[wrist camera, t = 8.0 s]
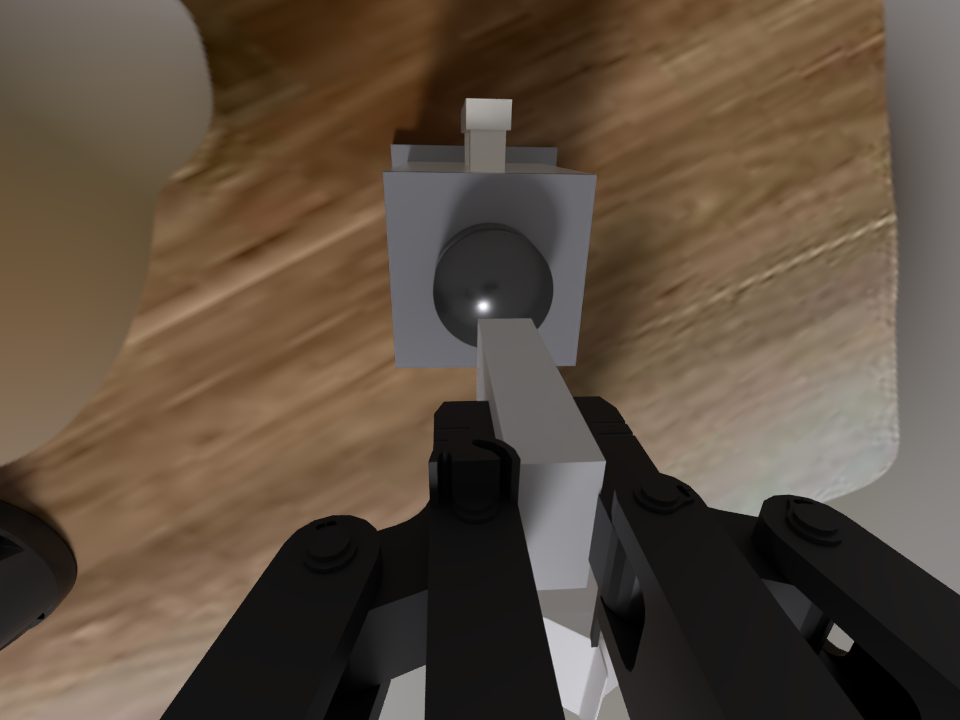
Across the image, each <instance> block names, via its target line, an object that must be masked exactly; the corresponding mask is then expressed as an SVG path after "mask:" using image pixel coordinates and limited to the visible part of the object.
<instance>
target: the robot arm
mask: <svg viewBox="0 0 960 720" xmlns="http://www.w3.org/2000/svg"><path fill="white" fill-rule="evenodd" d="M429 490H430V500H429V502H428V503H427V505H426V507H425V508H424V509H423V510H422V511H421V512H420V513H419V514H417V515H416V516H414V517H413V518H411V519H409V520H408V521H406V522H403V523H401V524H398V525H396V526H392V527H389V528H386V529H382V530H379V531H377V530H376V528H374V527H373V526H372V525H371V524H370V523H369V522H368V521H366V520H364V519H361V518H358V517H355V516H351V515H332V516H329V517H325V518H322V519H318V520H314V521H312V522H311V523H309V524H307V525H305V526H304V527H302V528H300V529H298V530H297V531H296V532H295V533H294V534H293V535H292V536H291V537H290V538H289V539H288V540H287V541H286V542H285V543H284V544H283V546H282V547H281V549H280V550H279V551H278V553H277V554H276V556H275V557H274V558H273V560H272V561H271V563H270V564H269V566H268V567H267V568H266V570H265V571H264V573H263V574H262V575H261V577H260V578H259V580H258V581H257V582H256V584H255V585H254V587H253V588H252V590H251V591H250V592H249V594H248V595H247V597H246V598H245V599H244V601H243V602H242V604H241V605H240V607H239V608H238V609H237V611H236V612H235V614H234V615H233V616H232V618H231V619H230V621H229V622H228V623H227V625H226V626H225V628H224V629H223V631H222V632H221V633H220V635H219V636H218V638H217V639H216V640H215V642H214V643H213V645H212V646H211V647H210V649H209V650H208V652H207V653H206V655H205V656H204V657H203V659H202V660H201V662H200V663H199V664H198V666H197V667H196V669H195V670H194V671H193V673H192V674H191V676H190V677H189V679H188V680H187V681H186V683H185V684H184V686H183V687H182V688H181V690H180V691H179V693H178V694H177V695H176V697H175V698H174V700H173V701H172V703H171V704H170V705H169V707H168V708H167V710H166V711H165V712H164V714H163V715H162V717H161V718H160V720H378V719H379V716H380V713H381V710H382V707H383V704H384V700H385V698H386V694H387V692H388V688H389V685H390V682H391V679H393V678H395V677H398V676H400V675H403V674H405V673H407V672H410V671H412V670H414V669H416V668H419V667H421V666H424V665H426V687H425V689H426V691H425V720H565V716H564V712H563V707H562V703H561V698H560V694H559V689H558V684H557V680H556V675H555V671H554V666H553V662H552V657H551V653H550V648H549V643H548V639H547V634H546V630H545V625H544V621H543V616H542V612H541V607H540V602H539V598H538V593H537V590H556V589H574V588H586V587H587V581H588V574H589V568H590V566H591V569H592V572H593V575H594V577H595V580H596V583H597V586H598V590H597V596H596V602H595V608H594V614H593V620H592V626H591V632H590V639H591V648H592V647H598V643H599V637H600V632H602V635H603V638H604V641H605V644H606V647H607V650H608V653H609V656H610V659H611V662H612V665H613V668H614V671H615V675H616V678H617V681H618V684H619V686H620V690H621V693H622V696H623V699H624V702H625V705H626V708H627V711H628V714H629V717H630V720H960V595H959V594H957V593H956V592H954V591H953V590H952V589H950V588H948V587H947V586H946V585H944V584H943V583H942V582H940V581H939V580H937V579H936V578H934V577H933V576H931V575H930V574H929V573H927V572H926V571H924V570H923V569H922V568H920V567H919V566H917V565H916V564H914V563H913V562H911V561H910V560H909V559H907V558H906V557H904V556H903V555H901V554H900V553H898V552H897V551H896V550H894V549H893V548H891V547H890V546H889V545H887V544H885V543H884V542H883V541H881V540H880V539H879V538H877V537H876V536H874V535H873V534H871V533H870V532H868V531H867V530H866V529H864V528H863V527H861V526H860V525H858V524H857V523H856V522H854V521H853V520H851V519H850V518H848V517H847V516H845V515H844V514H842V513H840V512H838V511H837V510H835V509H833V508H831V507H830V506H828V505H825V504H823V503H820V502H817V501H815V500H812V499H809V498H805V497H800V496H794V495H776V496H772V497H770V498H768V499H767V500H765V501H764V502H763V505H762V508H761V510H760V513H759V516H758V517H754V516H749V515H744V514H738V513H733V512H728V511H722V510H717V509H714V508H710V507H707V505H706V504H705V502H704V501H703V500H702V498H701V497H700V496H699V495H698V494H697V493H696V492H695V491H694V490H693V489H692V488H691V487H690V486H689V485H687V484H685V483H683V482H682V481H680V480H678V479H676V478H675V477H672V476H668V475H665V474H662V473H659V471H658V470H657V468H656V467H655V465H654V464H653V462H652V461H651V459H650V458H649V456H648V455H647V453H646V452H645V450H644V449H643V447H642V446H641V444H640V443H639V441H638V440H637V438H636V437H635V436H633V432H632V431H631V429H630V428H629V426H628V425H627V424H625V420H624V419H623V417H622V416H621V414H620V413H619V411H618V410H617V408H616V407H614V406H613V405H611V404H610V403H608V402H607V401H605V400H604V399H602V398H601V397H600V396H597V397H572V395H571V394H570V392H569V390H568V388H567V386H566V384H565V382H564V380H563V378H562V376H561V374H560V373H559V371H558V369H557V367H556V365H555V363H554V361H553V359H552V357H551V355H550V353H549V352H548V350H547V348H546V346H545V344H544V342H543V340H542V338H541V336H540V334H539V332H538V331H537V329H536V327H535V325H534V323H533V321H532V319H531V318H514V319H478V336H477V401H451V402H443V403H442V405H441V406H440V407H439V409H438V410H437V411H436V412H435V414H434V443H433V451H432V454H431V457H430V459H429ZM75 579H76V566H75V562H74V559H73V557H72V554H71V552H70V551H69V549H68V547H67V546H66V544H65V543H64V542H63V541H62V539H61V538H60V537H59V536H58V535H57V534H56V533H55V532H54V531H53V530H52V529H50V528H49V527H48V526H47V525H45V524H44V523H43V522H41V521H40V520H38V519H37V518H35V517H34V516H32V515H30V514H28V513H26V512H24V511H23V510H20V509H18V508H16V507H14V506H11V505H9V504H6V503H3V502H0V651H1V650H2V649H4V648H5V647H7V646H8V645H9V644H11V643H12V642H13V641H15V640H16V639H17V638H19V637H20V636H21V635H23V634H24V633H25V632H26V631H27V630H29V629H31V628H33V627H34V626H36V625H38V624H39V623H40V622H42V621H43V620H45V619H46V618H47V617H48V616H49V615H50V614H51V613H52V612H53V611H54V610H55V609H56V608H57V607H58V606H59V604H60V603H61V602H62V601H63V600H64V598H65V597H66V596H67V595H68V594H69V592H70V591H71V589H72V588H73V585H74V583H75ZM834 623H835V624H836V625H837V626H838V627H840V628H841V629H842V630H843V631H844V632H845V633H846V634H848V636H849V637H850V638H852V639H853V640H854V643H853V645H852V647H851V649H850V651H849V652H846V651H844V650H841V649H839V648H837V647H836V646H835V645H833V644H832V643H831V642H830V641H829V640H828V639H827V637H828V635H829V633H830V631H831V629H832V627H833V625H834Z"/></svg>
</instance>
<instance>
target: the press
mask: <svg viewBox="0 0 960 720" xmlns="http://www.w3.org/2000/svg"><path fill="white" fill-rule="evenodd" d="M511 114H512V99H473V98H466V100H465V102H464V105H463V107H462V110H461V133H464V146H448V145H391V156H392V168H391V169H389V170H386V171H384V172H383V178H384V193H385V209H386V224H387V240H388V255H389V270H390V286H391V301H392V316H393V332H394V347H395V363H396V368H446V367H477V347H473V346H470V345H468V344H466V343H463V342H462V341H460V340H458V339H457V338H456V337H454V336H453V335H452V334H451V333H450V332H449V331H448V330H447V329H446V328H445V326H444V325H443V324H442V322H441V320H440V319H439V317H438V315H437V312H436V309H435V305H434V300H433V283H434V273H435V267H436V263H437V260H438V257H439V255H440V253H441V251H442V249H443V248H444V246H445V245H446V243H447V242H448V241H449V240H450V239H451V238H452V237H453V236H454V235H455V234H457V233H458V232H460V231H461V230H463V229H465V228H467V227H470V226H473V225H475V224H480V223H500V224H504V225H507V226H510V227H513V228H514V229H516V230H518V231H520V232H521V233H522V234H524V235H525V236H526V237H527V238H528V239H529V240H530V241H531V242H532V243H533V245H534V246H535V247H536V248H537V249H538V250H539V252H540V253H541V254H542V255H543V257H544V258H545V260H546V262H547V263H548V266H549V268H550V270H551V274H552V278H553V286H554V289H553V300H552V304H551V307H550V310H549V312H548V315H547V316H546V318H545V320H544V322H543V323H542V324H541V326H540V327H539V328H538V329H537V331H538V332H539V334H540V336H541V338H542V340H543V342H544V344H545V346H546V348H547V350H548V352H549V353H550V355H551V357H552V359H553V361H554V363H555V365H556V366H575V365H576V356H577V348H578V339H579V330H580V321H581V312H582V303H583V294H584V285H585V276H586V267H587V259H588V250H589V241H590V232H591V223H592V214H593V205H594V196H595V187H596V178H597V175H595V174H590V173H585V172H580V171H576V170H571V169H566V168H561V167H556V164H557V151H558V147H506V131H509V130H511Z"/></svg>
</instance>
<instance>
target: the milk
mask: <svg viewBox="0 0 960 720" xmlns="http://www.w3.org/2000/svg"><path fill="white" fill-rule="evenodd" d="M597 590H598V586H597V583H596V580H595V577H594V575H593V572H592V569H591V566H590V568H589V574H588V581H587V587H586V588H574V589H556V590H537V593H538V598H539V602H540V607H541V612H542V616H543V621H544V625H545V630H546V634H547V639H548V643H549V648H550V653H551V657H552V662H553V666H554V671H555V675H556V680H557V684H558V689H559V694H560V698H561V703H562V707H564V708H566V709H568V710H570V711H572V712H573V713H576V714H577V715H578V716H579V718H580V720H597V717H598V713H599V709H600V706H601V703H602V699H603V697H604V696H605V695H606V694H608V693H609V692H610V691H611V690H612V689H614V688H615V687H616V686H617V685H618V681H617V678H616V675H615V671H614V668H613V665H612V662H611V659H610V656H609V653H608V650H607V647H606V644H605V641H604V638H603V635H602V632H600V637H599V643H598V647H592V648H591V639H590V632H591V626H592V620H593V614H594V608H595V602H596V596H597Z"/></svg>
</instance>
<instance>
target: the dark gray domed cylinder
mask: <svg viewBox="0 0 960 720" xmlns="http://www.w3.org/2000/svg"><path fill="white" fill-rule="evenodd" d="M553 289H554V286H553V278H552V274H551V270H550V268H549V266H548V263H547V262H546V260H545V258H544V257H543V255H542V254H541V253H540V252H539V250H538V249H537V248H536V247H535V246H534V245H533V243H532V242H531V241H530V240H529V239H528V238H527V237H526V236H525V235H524V234H522V233H521V232H520V231H518V230H516V229H514V228H513V227H510V226H507V225H504V224H500V223H480V224H475V225H473V226H470V227H467V228H465V229H463V230H461V231H460V232H458V233H457V234H455V235H454V236H453V237H452V238H451V239H450V240H449V241H448V242H447V243H446V245H445V246H444V248H443V249H442V251H441V253H440V255H439V257H438V260H437V263H436V267H435V273H434V283H433V300H434V305H435V309H436V312H437V315H438V317H439V319H440V320H441V322H442V324H443V325H444V326H445V328H446V329H447V330H448V331H449V332H450V333H451V334H452V335H453V336H454V337H456V338H457V339H458V340H460V341H462V342H463V343H466V344H468V345H470V346H473V347H477V336H478V319H514V318H531V319H532V321H533V323H534V325H535V327H536V329H538V328H539V327H540V326H541V324H542V323H543V322H544V320H545V318H546V316H547V315H548V312H549V310H550V307H551V304H552V300H553Z"/></svg>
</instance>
